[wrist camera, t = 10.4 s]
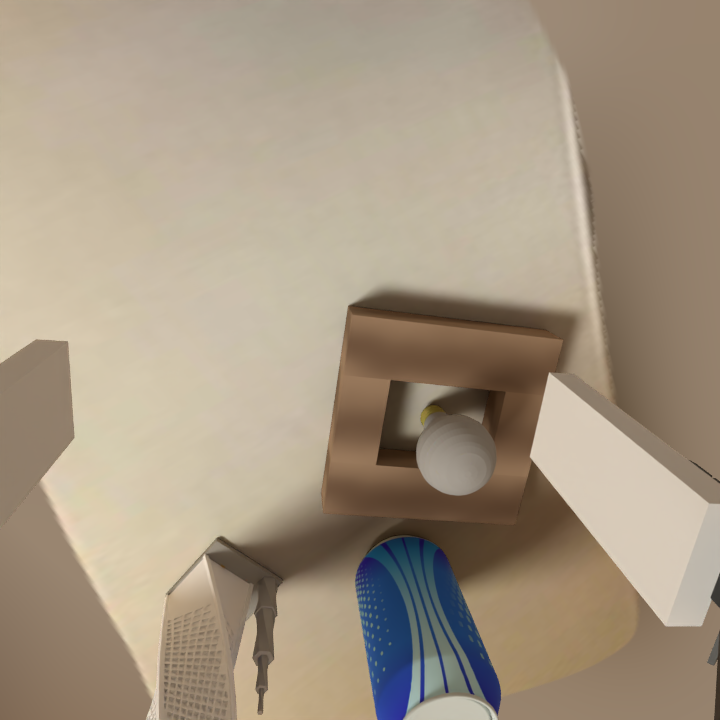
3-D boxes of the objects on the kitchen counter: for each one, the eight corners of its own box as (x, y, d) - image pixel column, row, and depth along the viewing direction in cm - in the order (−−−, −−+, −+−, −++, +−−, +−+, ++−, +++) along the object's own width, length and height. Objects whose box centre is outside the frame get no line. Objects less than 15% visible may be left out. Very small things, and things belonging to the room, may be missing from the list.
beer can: (351, 532, 48) (380, 694, 33) (446, 522, 49) (517, 675, 34) (355, 611, 50) (383, 795, 35) (445, 601, 51) (510, 776, 36)
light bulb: (450, 371, 44) (494, 422, 35) (472, 427, 46) (519, 490, 37) (387, 398, 44) (414, 457, 35) (411, 454, 46) (443, 523, 37)
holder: (348, 305, 42) (352, 314, 39) (546, 329, 44) (563, 340, 41) (321, 493, 46) (323, 513, 43) (502, 505, 49) (515, 525, 46)
